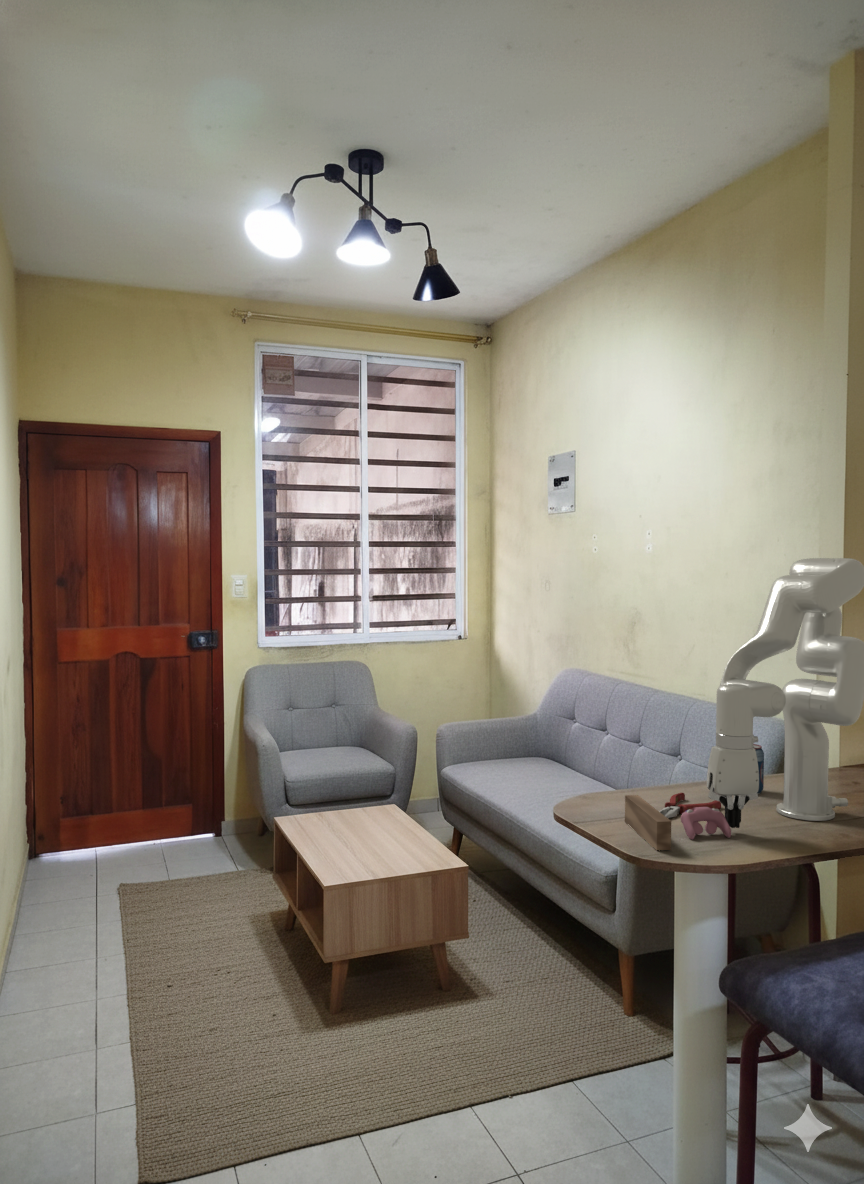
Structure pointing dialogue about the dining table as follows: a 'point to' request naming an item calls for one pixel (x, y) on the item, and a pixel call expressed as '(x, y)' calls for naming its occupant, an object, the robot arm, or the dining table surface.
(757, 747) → the soda can
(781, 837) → the dining table surface
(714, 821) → the video game controller
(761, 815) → the dining table surface
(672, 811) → the pliers
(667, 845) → the bar
